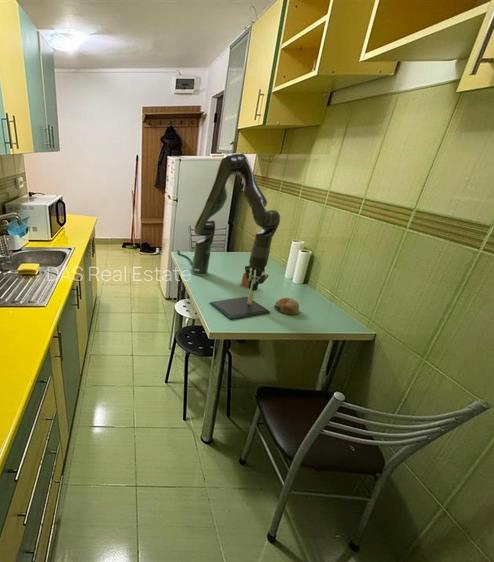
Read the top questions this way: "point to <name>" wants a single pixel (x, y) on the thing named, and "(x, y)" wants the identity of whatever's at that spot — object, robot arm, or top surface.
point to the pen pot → (245, 280)
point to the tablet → (238, 308)
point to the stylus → (250, 293)
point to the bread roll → (287, 306)
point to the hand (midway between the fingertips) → (252, 289)
